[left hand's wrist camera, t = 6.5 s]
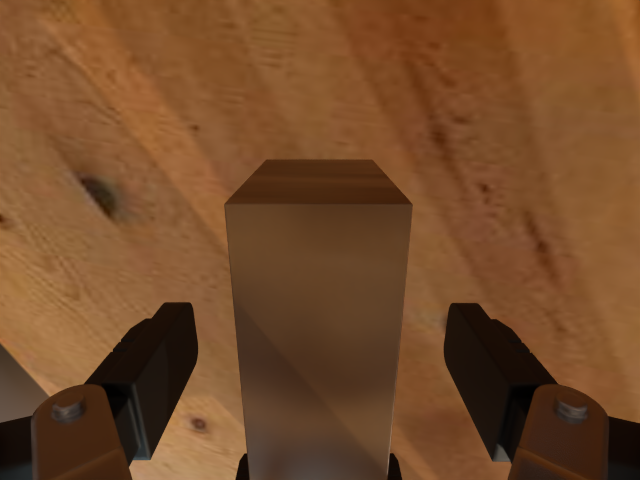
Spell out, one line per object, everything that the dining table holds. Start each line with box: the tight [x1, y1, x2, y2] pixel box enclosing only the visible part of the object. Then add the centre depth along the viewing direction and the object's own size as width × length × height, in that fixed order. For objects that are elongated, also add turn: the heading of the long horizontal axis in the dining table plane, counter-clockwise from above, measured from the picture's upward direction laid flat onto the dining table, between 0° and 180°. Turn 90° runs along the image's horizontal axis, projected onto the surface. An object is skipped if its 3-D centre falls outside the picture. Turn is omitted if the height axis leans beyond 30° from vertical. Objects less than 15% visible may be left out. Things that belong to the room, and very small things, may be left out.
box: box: [224, 160, 413, 480], centre depth 20 cm, size 22×6×10 cm, turn 0°
